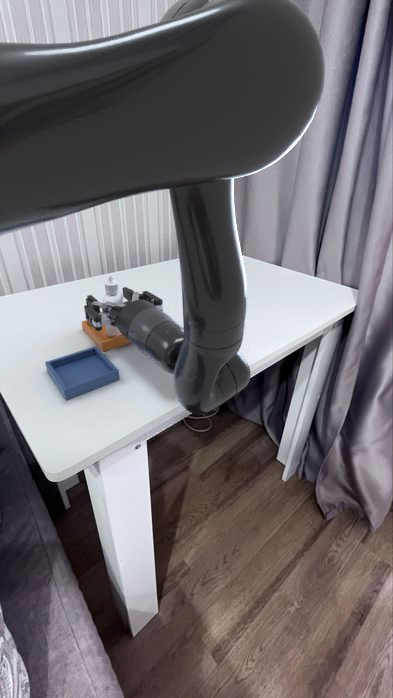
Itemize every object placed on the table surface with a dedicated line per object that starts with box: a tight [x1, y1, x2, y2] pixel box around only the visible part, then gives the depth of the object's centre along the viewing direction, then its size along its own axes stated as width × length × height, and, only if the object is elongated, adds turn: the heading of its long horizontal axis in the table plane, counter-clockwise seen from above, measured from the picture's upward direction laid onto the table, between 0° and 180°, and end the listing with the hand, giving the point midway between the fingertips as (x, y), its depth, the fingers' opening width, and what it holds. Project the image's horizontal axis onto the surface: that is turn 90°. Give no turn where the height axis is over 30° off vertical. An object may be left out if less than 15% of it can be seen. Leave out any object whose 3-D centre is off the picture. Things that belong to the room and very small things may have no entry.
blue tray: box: [44, 345, 121, 401], centre depth 56 cm, size 9×9×2 cm
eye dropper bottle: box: [102, 274, 124, 337], centre depth 66 cm, size 4×6×12 cm
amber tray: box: [81, 319, 132, 353], centre depth 69 cm, size 10×10×2 cm
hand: (107, 295), depth 67 cm, fingers open, 7 cm apart
